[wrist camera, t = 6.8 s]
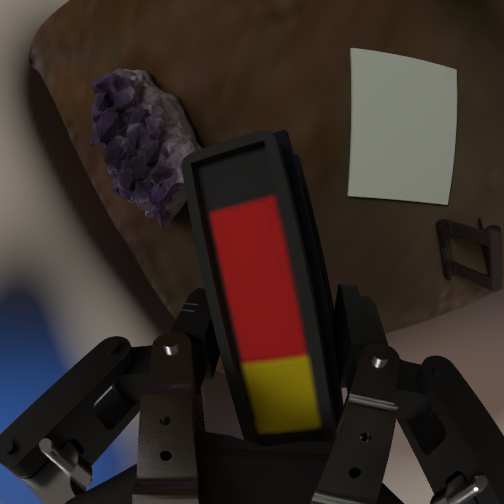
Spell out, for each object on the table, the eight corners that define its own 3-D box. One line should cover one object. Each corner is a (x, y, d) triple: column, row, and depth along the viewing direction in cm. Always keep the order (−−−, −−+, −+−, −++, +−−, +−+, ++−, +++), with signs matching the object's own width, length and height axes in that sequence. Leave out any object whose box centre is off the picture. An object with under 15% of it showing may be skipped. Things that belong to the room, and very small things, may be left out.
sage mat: (350, 49, 26) (351, 48, 26) (454, 70, 25) (456, 69, 24) (347, 194, 34) (348, 195, 34) (445, 203, 33) (447, 204, 32)
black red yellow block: (293, 343, 23) (243, 465, 9) (259, 184, 24) (163, 107, 9) (339, 335, 22) (347, 459, 8) (304, 173, 23) (266, 70, 8)
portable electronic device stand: (433, 221, 34) (461, 248, 27) (477, 202, 32) (510, 225, 24) (442, 273, 37) (465, 306, 30) (482, 255, 35) (509, 284, 27)
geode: (91, 106, 33) (48, 102, 24) (158, 57, 31) (126, 34, 22) (158, 227, 39) (129, 253, 30) (231, 185, 37) (221, 199, 28)
